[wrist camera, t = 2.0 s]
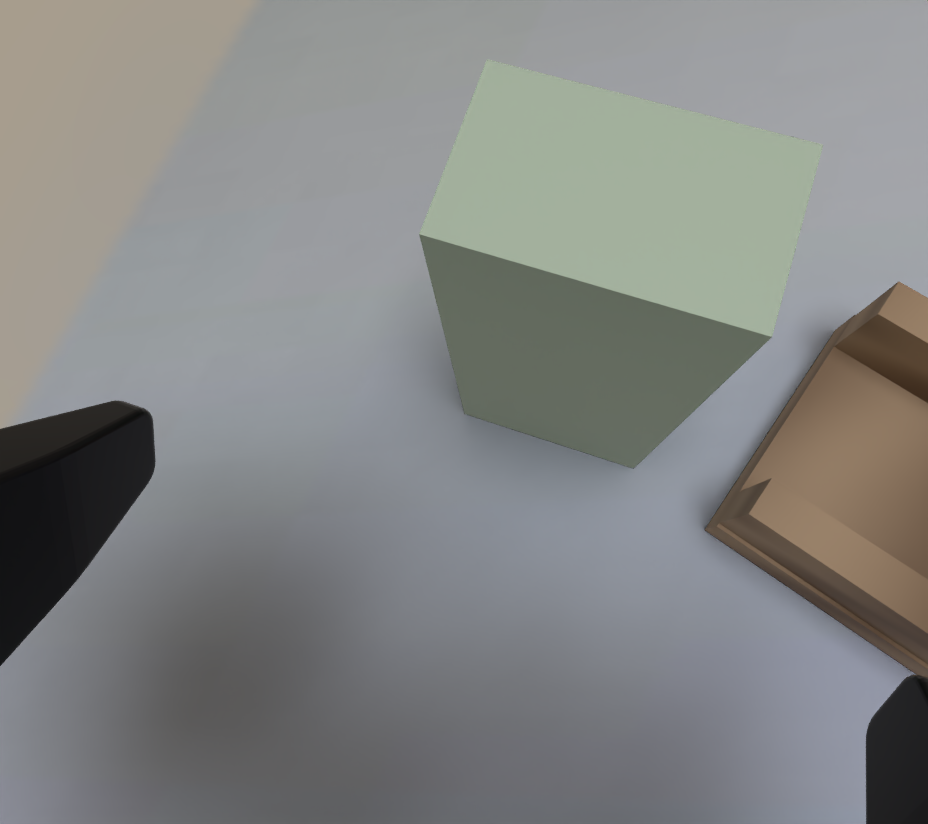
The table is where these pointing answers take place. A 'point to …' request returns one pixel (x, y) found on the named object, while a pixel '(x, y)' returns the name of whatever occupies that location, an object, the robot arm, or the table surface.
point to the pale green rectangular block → (606, 257)
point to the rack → (849, 482)
